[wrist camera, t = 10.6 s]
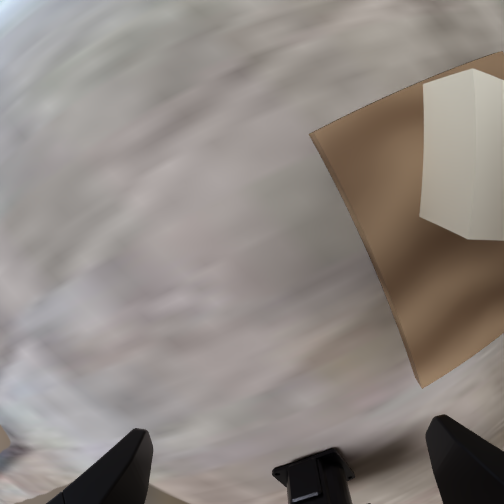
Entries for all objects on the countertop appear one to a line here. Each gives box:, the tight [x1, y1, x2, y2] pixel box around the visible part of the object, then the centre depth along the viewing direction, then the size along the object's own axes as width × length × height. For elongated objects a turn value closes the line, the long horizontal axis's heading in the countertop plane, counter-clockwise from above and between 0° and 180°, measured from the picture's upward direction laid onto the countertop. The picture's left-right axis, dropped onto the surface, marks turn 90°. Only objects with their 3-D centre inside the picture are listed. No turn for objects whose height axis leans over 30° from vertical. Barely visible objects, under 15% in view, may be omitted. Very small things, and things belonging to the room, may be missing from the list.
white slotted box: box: [419, 68, 504, 241], centre depth 13 cm, size 6×8×5 cm
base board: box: [309, 51, 504, 389], centre depth 18 cm, size 20×16×2 cm
